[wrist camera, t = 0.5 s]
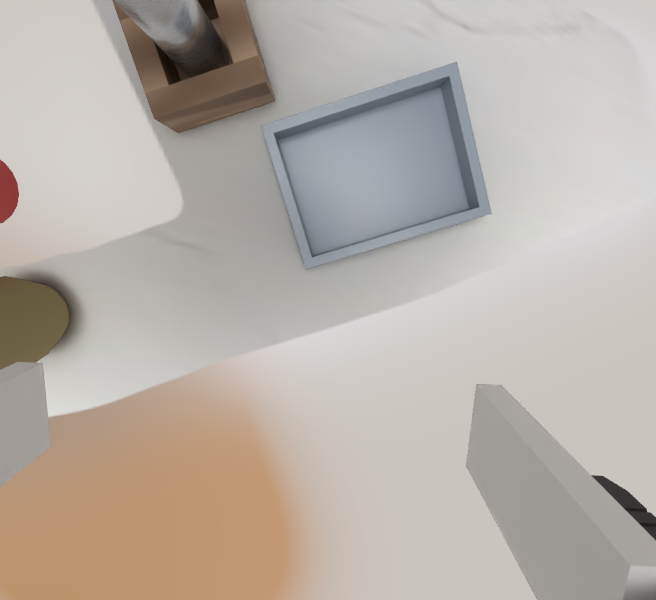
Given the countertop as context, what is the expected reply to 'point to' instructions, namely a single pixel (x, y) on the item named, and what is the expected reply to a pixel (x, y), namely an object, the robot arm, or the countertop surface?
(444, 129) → the tray
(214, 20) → the block
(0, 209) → the beer can
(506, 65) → the countertop surface
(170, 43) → the steel pin
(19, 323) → the squeeze bottle
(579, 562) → the robot arm
